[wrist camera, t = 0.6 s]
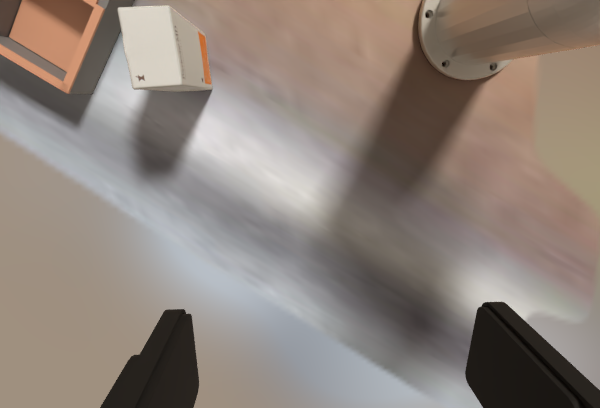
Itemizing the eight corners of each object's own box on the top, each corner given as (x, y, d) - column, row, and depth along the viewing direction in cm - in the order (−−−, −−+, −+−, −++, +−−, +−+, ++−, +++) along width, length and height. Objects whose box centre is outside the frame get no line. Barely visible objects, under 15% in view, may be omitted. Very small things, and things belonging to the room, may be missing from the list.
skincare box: (214, 90, 39) (183, 88, 27) (177, 92, 39) (130, 91, 27) (206, 31, 37) (169, 3, 25) (168, 34, 37) (113, 6, 25)
